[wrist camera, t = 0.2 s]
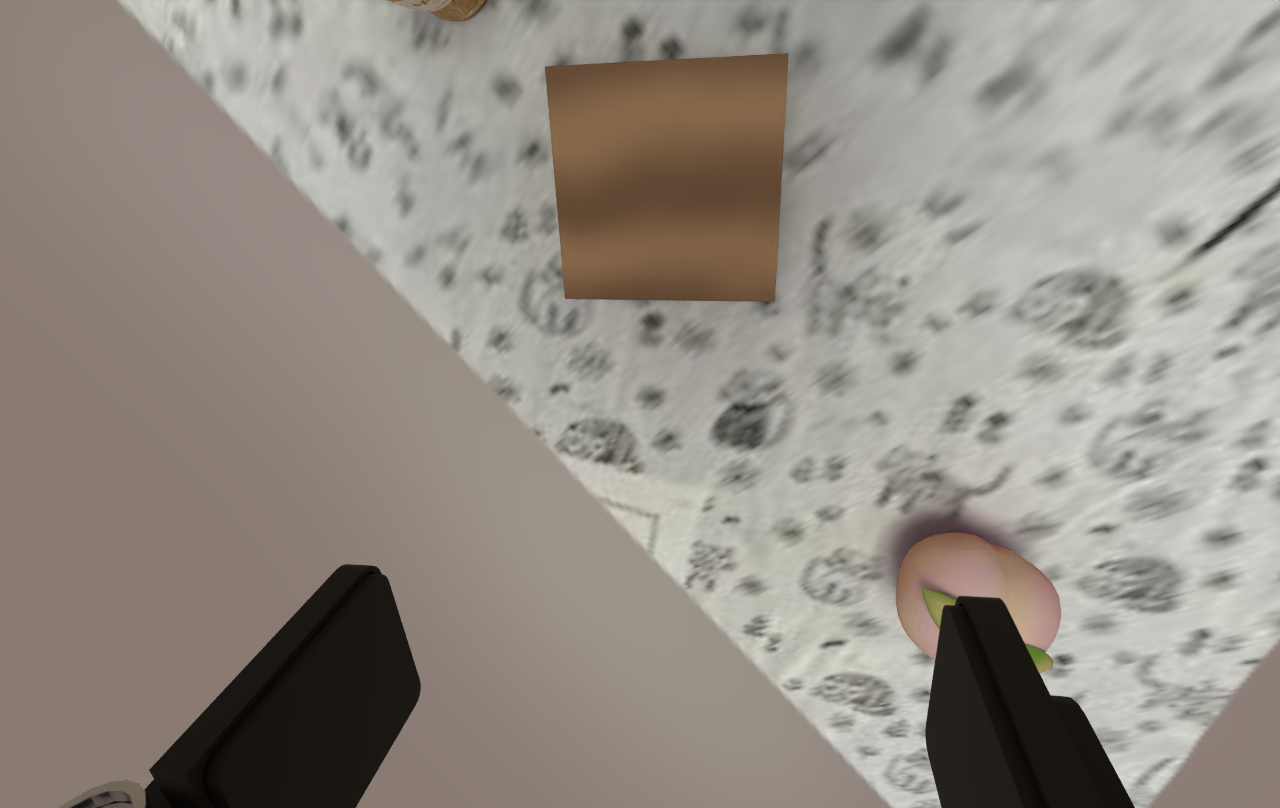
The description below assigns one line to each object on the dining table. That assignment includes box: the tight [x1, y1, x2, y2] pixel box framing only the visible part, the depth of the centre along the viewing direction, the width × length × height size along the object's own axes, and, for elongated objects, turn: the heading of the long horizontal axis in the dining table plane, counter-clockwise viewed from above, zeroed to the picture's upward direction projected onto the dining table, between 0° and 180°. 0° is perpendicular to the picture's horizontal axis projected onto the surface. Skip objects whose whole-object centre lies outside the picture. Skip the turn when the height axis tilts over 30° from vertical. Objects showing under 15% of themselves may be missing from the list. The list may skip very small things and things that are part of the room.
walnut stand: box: [545, 53, 788, 302], centre depth 35 cm, size 12×12×4 cm
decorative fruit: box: [896, 533, 1061, 673], centre depth 39 cm, size 9×8×10 cm
